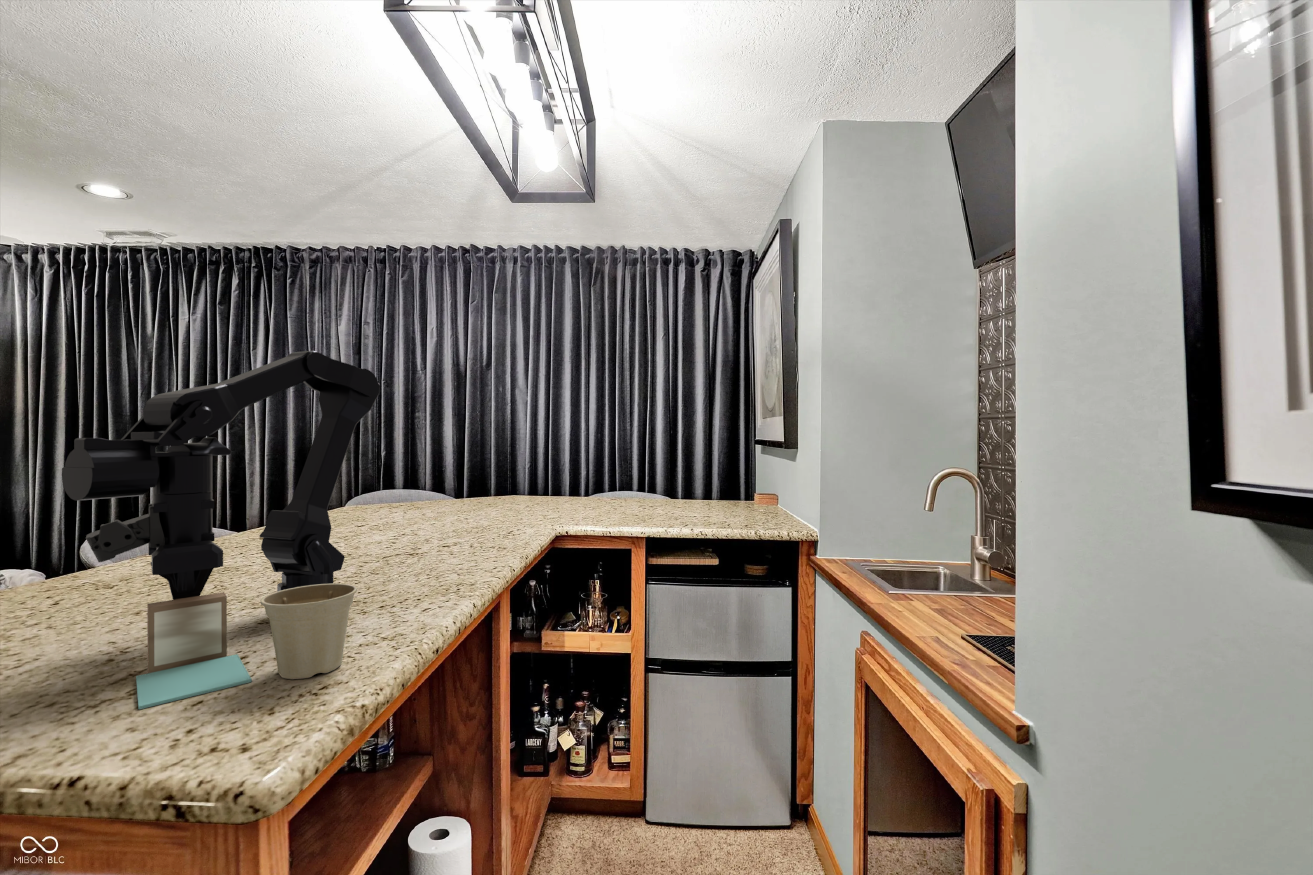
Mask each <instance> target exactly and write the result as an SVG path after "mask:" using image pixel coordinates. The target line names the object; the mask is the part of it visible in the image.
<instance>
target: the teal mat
mask: <svg viewBox="0 0 1313 875" xmlns="http://www.w3.org/2000/svg"><path fill="white" fill-rule="evenodd" d="M135 680H136V681H135V682H136V692H137V706H138V708H137V709H138V710H143V709H147V708H152V707H155V706H159V705H164V704H167V703H171V702H176V701H180V700H184V699H187V698H191V697H196V696H199V695H200V696H201V695H204V694H208V693H212V692H216V691H220V690H225V689H227V688H231V687H236V686H241V685H245V684H248V683H252V678H251V675H250V674H249V672H248V670H247V669H246V667H245V664H244V663H243V661H242V659H241V658H240V656H239V654H238V653H236V654H232V655H227V657H222V658H217V659H213V660H208V661H203V662H199V663H194V664H189V665H185V666H180V667H175V668H171V669H166V670H161V671H157V672H152V673H148V672H147V673H144V674H140V675H136V676H135Z"/></svg>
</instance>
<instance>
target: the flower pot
mask: <svg viewBox="0 0 1313 875" xmlns="http://www.w3.org/2000/svg"><path fill="white" fill-rule="evenodd" d="M357 593H358V587H357V586H356V585H354V584H349V583H336V582H335V583H334V582H333V583H332V584H318V585H309V586H301V587H296V588H290V589H285V590H281V591H278V592H277V591H275V592H271V593H269V594H267V595H264V596H263V597H262V598H261V599H260V605H261V606H262V607H264V610H265V611H264V612H265V615H266V617H267V618H269V625H270V630H271V635H272V636H271V637H272V642H273V648H274V653H275V659H276V666H277V667H276V668H277V673H278V674H279V676H280V677H281V678H282V679H286V680H287V679H288V680H302V679H303V680H304V679H308V678H311V677H313V676H314V675H316V674H320V673H322V674H327V673H329V672H330V673H331V672H333V671H334V670H336V669H338V668H339V667H340V666H341V665H342V663H343V656H344V649H345V641H346V633H347V627H348V619H349V614H350V608H351V606H352V605H353V603H354V596H355V594H357Z"/></svg>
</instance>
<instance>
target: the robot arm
mask: <svg viewBox="0 0 1313 875" xmlns="http://www.w3.org/2000/svg"><path fill="white" fill-rule="evenodd" d="M301 383H303V384H305V385H306V386H307V387H308V388H309V389H311V390H313V391H315V392H317V393H319V394H318V403H319V408H320V412H321V419H320V421H319V425H318V427H317V430H316V433H315V435H314V437H313V441H312V444H311V446H310V450H309V452H308V455H307V456H306V457H307V458H306V460H305V463H304V464H303V465H304V466H303V467H302V471H301V473H300V477H299V479H298V482H297V485H296V488H295V491H294V493H293V496H292V499H291V500H290V502H289V503H288V504H287V505H286V507H284V508H283V509H282V510H279V509H278V510H276V509H275V510H274V509H272V510H270V511H269V513H268V516H267V519H266V524H265V527H264V528H263V530H262V532H261V533H259V535H258V537H259V538H262V539H261V545H260V546H261V547H260V548H261V551H262V552H263V554H264V557H265V558H266V559H267V560H268V561H269V563H270V565H271V568H272V570H273V572H274V573H281V582H279V583H278V584H277V591H276V592H278V591H281V590H285V589H290V588H296V587H301V586H309V585H318V584H332V583H334V573H335V572H337V571H341V570H342V568H343V564H344V560H345V555H344V554H343V553H342V552H341V551H340V550H338V549H337V548H336V547H335V545H333V544H332V543H331V542H330V539H331V533H332V524H331V520H330V516H329V511H328V508H329V505H330V502H331V499H332V496H333V492H334V490H335V487H336V484H337V481H338V478H339V475H340V473H341V472H340V471H341V470H342V466H343V463H344V460H345V457H346V454H347V453H348V452H347V451H348V449H349V446H350V443H351V439H352V437H353V434H354V431H355V428H356V426H357V424H358V423H359V422H360V421H361V420H362V419H363V418H364V417H365V416H366V415H367V414H368V413H369V412H370V411H371V410H372V408H373V406H374V404H375V402H376V400H377V399H378V397H379V395H380V392H381V384H380V383H379V381H378V379H377V376H376V375H375V374H374V373H373V372H372V371H371V370H370V369H368V368H358V367H357V366H355V365H354V364H353V365H352V364H349V363H347V362H343V361H340V360H337V359H334V358H331V357H328V356H327V355H326V354H323V353H321V352H318V351H317V350H316V351H315V350H306V351H295V352H291V353H289V354H288V355H287V356H284V357H282V358H280V359H277V360H274V361H272V362H270V363H267V364H264V365H262V366H259V367H257V368H254V369H251V370H248V371H246V372H243V373H241V374H238V375H236V376H233V377H231V378H228V379H225V380H222V381H221V382H217V383H212V384H208V385H202V386H196V387H188V388H184V389H179V390H174V391H168V392H164V393H159V394H155V395H154V396H153V397H150V398H149V399H147V401H145V406H144V409H143V412H142V413H143V415H142V416H141V417H140V418H139V419H138V420H137V422H135V424H134V425H133V426H132V427H131V428H130V429H129V430H128V431H127V432H126V433H125V434H124V435H123V437H122V438H121V439H106V438H102V437H77V438H76V437H75V439H74V441H73V442H74V445H73V447H74V449H73V450H71V451H70V452H69V454H68V455H67V458H66V460H65V463H64V467H61V481H62V485H63V489H64V491H65V493H66V494H67V496H68V497H69V498H70V499H71V500H73V501H77V502H79V501H89V500H90V501H91V500H100V499H101V500H103V499H117V498H127V497H128V498H129V497H140V496H143V495H145V494H146V493H148V491H149V490H150V489H151V488H152V501H151V503H148V513H147V514H146V513H145V514H144V515H141V516H138V517H135V518H131V519H128V520H125V521H121V520H119V519H114V521H112V522H108V523H105V524H104V523H103V524H101V525H100V528H99V530H95V531H92V532H90V533H88V534H86V535H85V536H86V537H85V539H86V542H87V544H88V546H89V547H90V550H91V551H92V553H93V555H94V557H95V558H96V561H97V562H98V563H103V562H107V561H109V560H112V559H115V558H116V556H118V555H120V554H124V553H127V552H129V551H132V550H134V549H137V548H141V547H142V546H145V545H147V546H148V547H147V548H148V549H147V550H148V551H147V553H148V556H151V561H150V567H151V572H152V573H151V574H152V575H153V576H160V577H161V578H163V579H165V580H167V583H168V587H169V589H170V594H171V597H172V598H171V599H172V600H175V599H182V598H188V597H195V596H201V594H202V592H203V590H204V588H205V586H206V583H208V580H209V578H210V576H211V574H212V573H213V571H214V569H216V568H217V569H218V568H221V567H224V550H223V549H222V548H221V546H219V545H218V544H216V543H215V532H214V531H213V510H214V509H215V499H213V456H230V455H231V454H232V450H231V449H230V448H229V447H227V446H226V445H224V444H222V443H221V442H220V441H219V439H218V438H217V437H214V436H213V437H209V436H211V435H213V434H215V433H216V432H218V431H219V430H220V429H223V428H224V427H225V426H227V425H228V424H229V423H231V422H233V420H234V419H235V418H236V417H237V415H238V414H239V413H240V412H242V411H243V410H244V409H246V408H247V407H250V406H252V405H254V404H256V403H259V402H261V401H263V400H265V399H267V398H270V397H273V396H275V395H276V394H279V393H281V392H284V391H286V390H288V389H291V388H292V387H295V386H297V385H299V384H301ZM192 439H201V440H200V441H198V442H188V441H190V440H192ZM157 447H168V448H167V449H166V451H156V449H157ZM152 575H151V576H152Z"/></svg>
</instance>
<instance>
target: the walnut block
mask: <svg viewBox="0 0 1313 875" xmlns="http://www.w3.org/2000/svg"><path fill="white" fill-rule="evenodd" d="M227 598H228V596H227V594H226V593H225V592H224V591H222V592H221V591H220V592H217V593H209V594H203V595H200V596H195V597H188V598H182V599H175V600H173V599H171V600H170V599H169V600H164V601H163V600H162V601H157V602H150V603H149V602H148V603H147V606H146V608H147V610H146V612H147V618H146V620H147V633H146V635H147V641H146V642H147V643H146V644H147V645H146V646H147V649H146V650H147V651H146V652H147V658H146V660H147V664H146V665H147V674H148V673H152V672H157V671H161V670H166V669H171V668H175V667H180V666H185V665H189V664H194V663H199V662H203V661H208V660H213V659H217V658H222V657H227V656H228V653H227V652H228V651H227V649H228V648H227V646H228V644H227V643H228V640H227V638H228V637H227V636H228V635H227V634H228V633H227V632H228V631H227V630H228V628H227V624H228V622H227V621H228V620H227V619H228V617H227V615H228V613H227V611H228V602H227Z"/></svg>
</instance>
